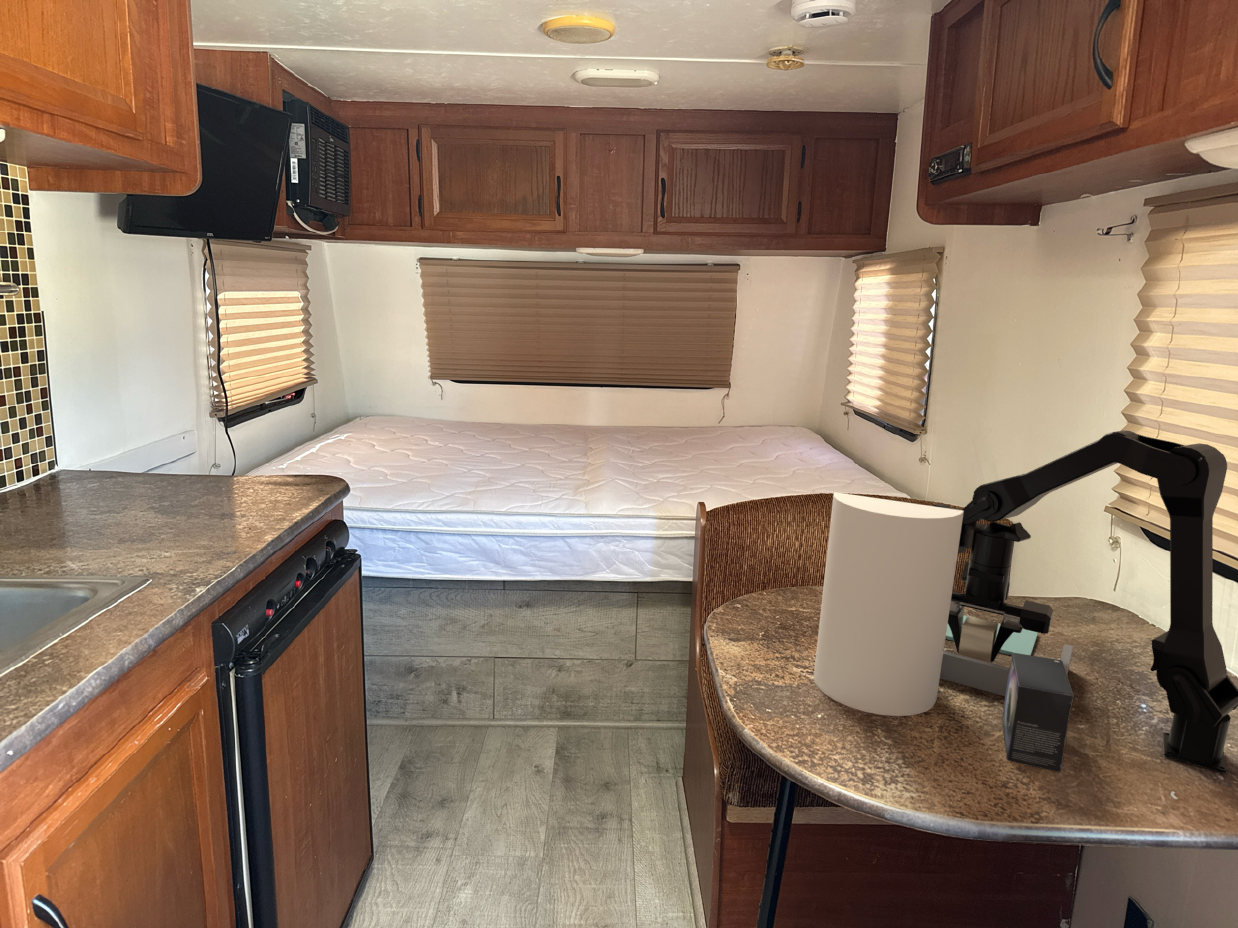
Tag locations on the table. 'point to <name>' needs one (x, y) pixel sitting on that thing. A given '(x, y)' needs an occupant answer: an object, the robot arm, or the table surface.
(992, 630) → the cream block
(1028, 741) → the small box
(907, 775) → the table surface
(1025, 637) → the teal mat
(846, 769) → the table surface
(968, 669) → the grey l-shaped bracket
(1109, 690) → the table surface
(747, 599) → the table surface
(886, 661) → the cylinder
